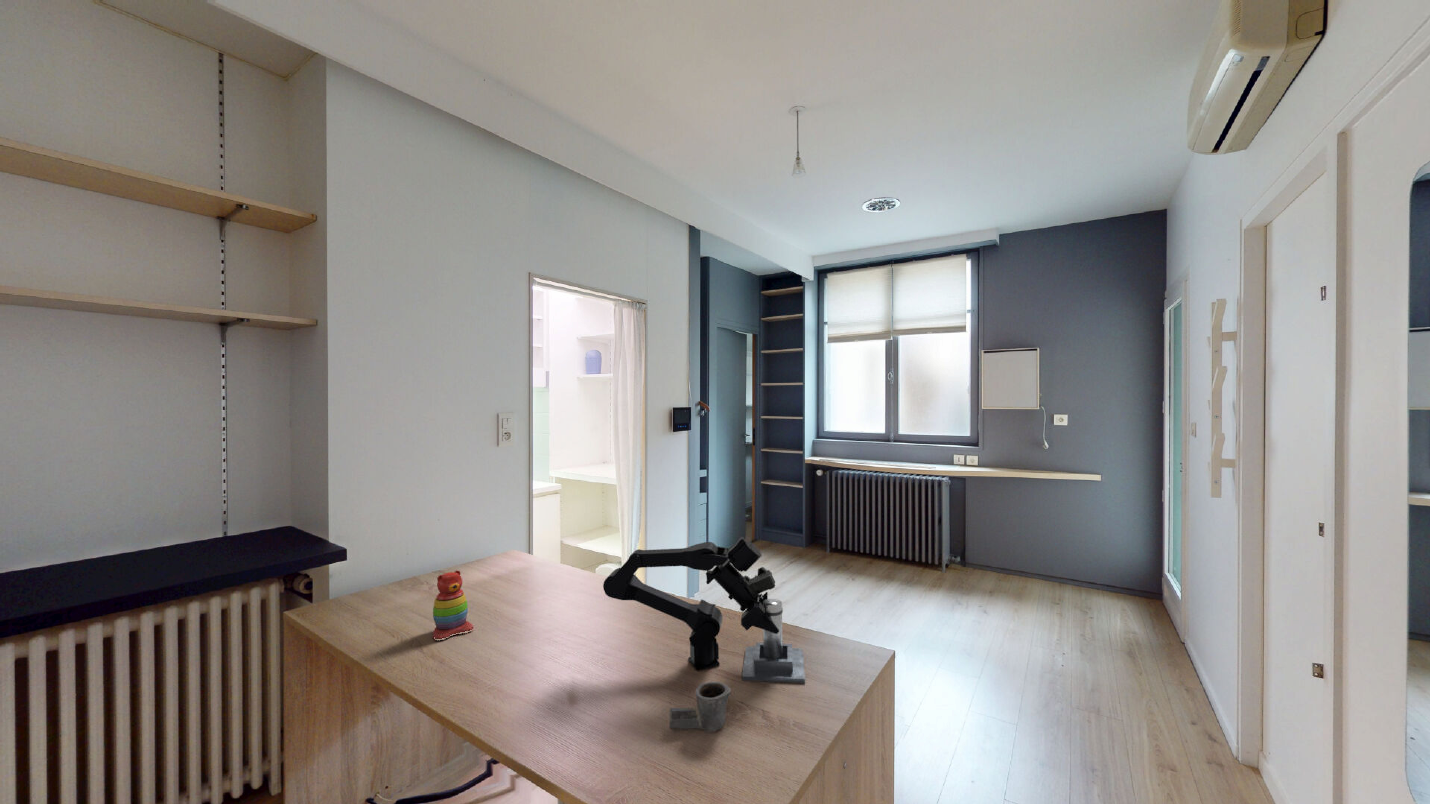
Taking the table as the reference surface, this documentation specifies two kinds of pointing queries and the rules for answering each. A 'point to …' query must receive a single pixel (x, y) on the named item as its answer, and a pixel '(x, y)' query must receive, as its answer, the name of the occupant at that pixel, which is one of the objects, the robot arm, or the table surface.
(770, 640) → the silver banded cylinder
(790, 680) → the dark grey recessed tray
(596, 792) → the table surface
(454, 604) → the stacking bear
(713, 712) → the pipe
